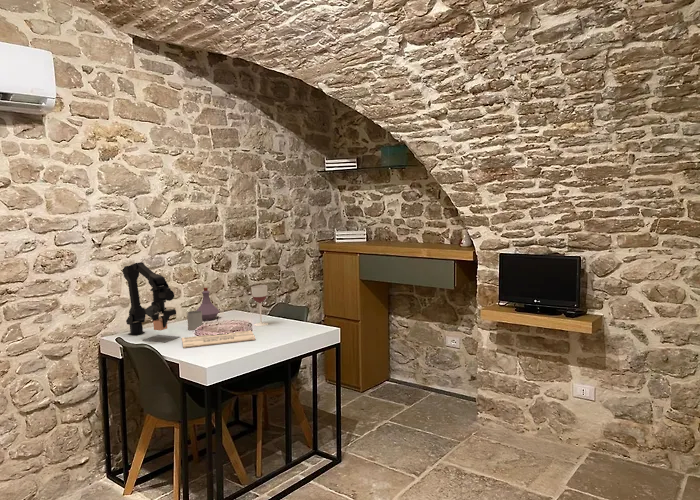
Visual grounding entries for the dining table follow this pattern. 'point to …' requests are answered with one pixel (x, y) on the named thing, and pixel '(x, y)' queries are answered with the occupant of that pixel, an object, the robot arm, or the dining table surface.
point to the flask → (207, 307)
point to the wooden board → (217, 339)
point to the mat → (161, 338)
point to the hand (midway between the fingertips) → (160, 327)
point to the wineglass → (259, 298)
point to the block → (159, 325)
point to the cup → (194, 319)
